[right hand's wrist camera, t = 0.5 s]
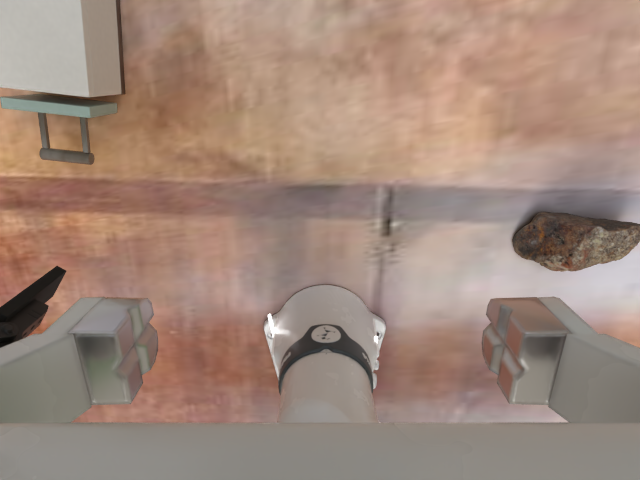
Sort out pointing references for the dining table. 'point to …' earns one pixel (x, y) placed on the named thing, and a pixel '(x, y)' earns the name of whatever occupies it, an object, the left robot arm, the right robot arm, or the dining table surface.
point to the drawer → (61, 107)
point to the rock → (574, 241)
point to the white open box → (62, 47)
